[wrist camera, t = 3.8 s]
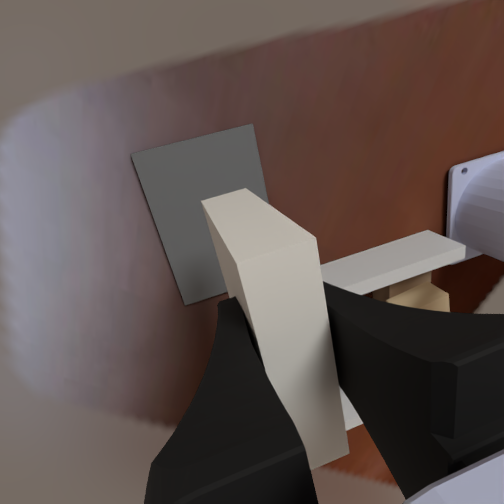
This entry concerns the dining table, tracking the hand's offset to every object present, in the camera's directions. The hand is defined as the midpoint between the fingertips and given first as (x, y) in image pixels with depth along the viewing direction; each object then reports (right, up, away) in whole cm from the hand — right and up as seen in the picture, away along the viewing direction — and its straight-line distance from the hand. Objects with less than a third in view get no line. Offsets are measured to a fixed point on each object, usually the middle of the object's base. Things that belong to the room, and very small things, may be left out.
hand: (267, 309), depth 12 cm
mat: (-3, +4, +9) cm, 10 cm away
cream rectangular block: (-1, +1, +4) cm, 4 cm away
